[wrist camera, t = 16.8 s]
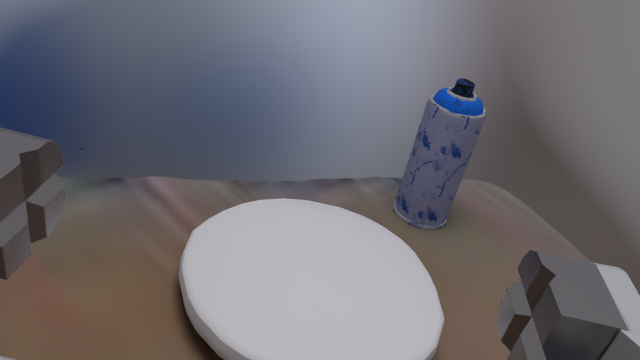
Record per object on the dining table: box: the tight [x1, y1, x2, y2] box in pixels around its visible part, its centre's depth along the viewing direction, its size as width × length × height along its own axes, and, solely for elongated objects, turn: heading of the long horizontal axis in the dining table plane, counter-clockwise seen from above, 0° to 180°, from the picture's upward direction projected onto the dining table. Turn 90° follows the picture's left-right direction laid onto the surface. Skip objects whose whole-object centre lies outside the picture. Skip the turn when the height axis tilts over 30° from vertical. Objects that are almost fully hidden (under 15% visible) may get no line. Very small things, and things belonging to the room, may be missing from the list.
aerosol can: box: [393, 78, 486, 230], centre depth 71 cm, size 8×8×20 cm
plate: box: [178, 199, 444, 360], centre depth 56 cm, size 28×6×27 cm
